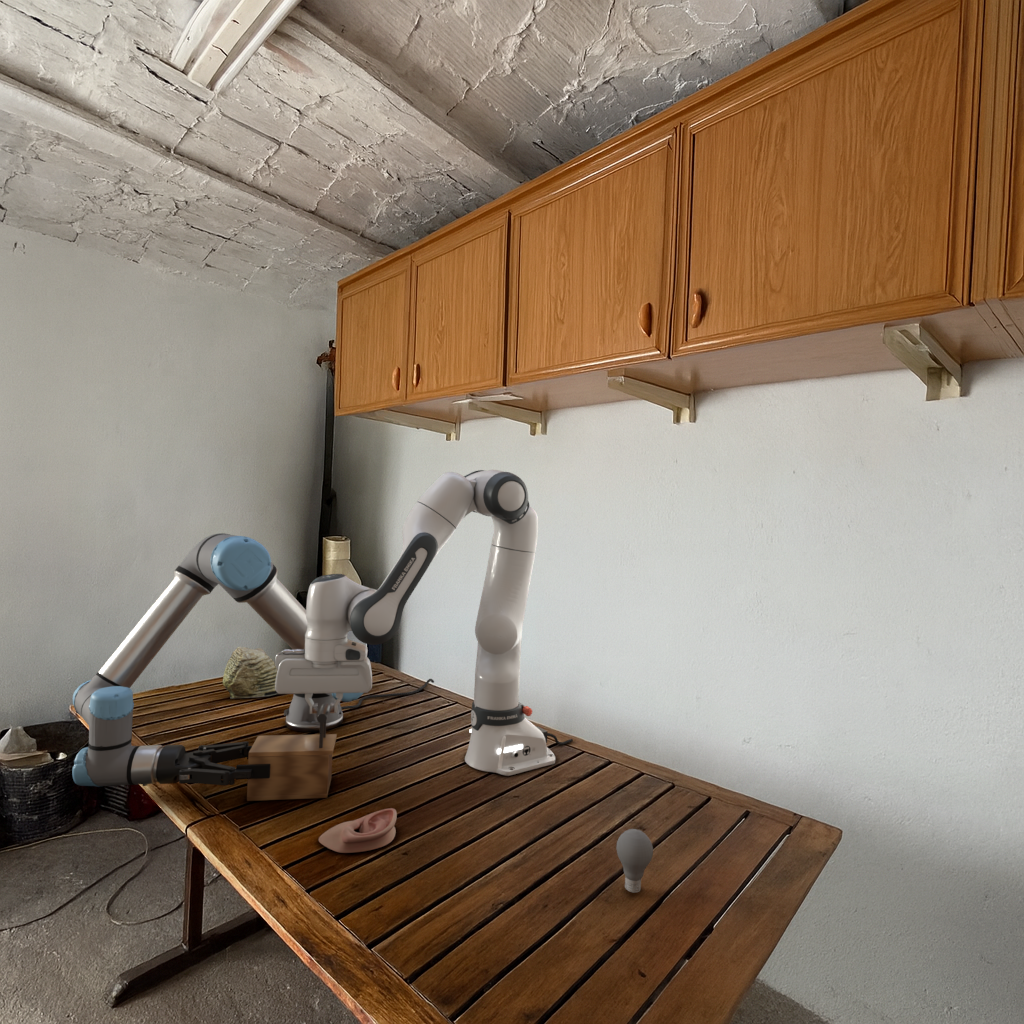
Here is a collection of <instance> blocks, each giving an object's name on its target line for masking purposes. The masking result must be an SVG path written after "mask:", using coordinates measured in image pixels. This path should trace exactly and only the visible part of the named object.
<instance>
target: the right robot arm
mask: <svg viewBox="0 0 1024 1024" xmlns="http://www.w3.org/2000/svg"><path fill="white" fill-rule="evenodd" d="M470 513H477V514H480V515H482V516H485V517H491V519H492V522H493V534H492V539H491V545H490V550H489V556H488V561H487V567H486V572H485V577H484V581H483V586H482V592H481V595H480V601H479V605H478V611H477V617H476V621H475V626H474V633H475V634H474V635H475V639H476V640H477V648H476V649H477V650H476V660H475V669H474V688H473V689H474V690H473V691H474V692H473V700H472V703H471V710H470V725H471V728H470V729H469V733H470V736H469V743H468V746H467V750H466V753H465V755H464V761H465V763H466V764H467V765H468V766H469V767H471V768H473V769H475V770H479V771H482V772H487V773H488V772H489V773H496V774H498V775H502V776H506V777H509V776H513V775H516V774H517V775H518V774H522V773H524V772H528V771H533V770H537V769H540V768H544V767H547V766H551V765H555V764H556V755H555V753H554V752H553V751H552V750H551V749H550V748H549V747H548V746H547V744H548V737H551V738H553V739H554V742H555V743H556V744H557V745H559V746H564V745H568V744H570V743H572V742H574V739H573V738H569V739H567V740H565V741H559V740H558V737H557V736H556V735H555V734H553V733H550V732H548V730H547V729H546V730H545V729H544V728H542V727H540V726H538V725H535V724H534V723H532V722H531V721H530V720H529V719H527V718H526V717H531V716H532V714H533V713H534V712H533V709H532V708H531V707H530V706H528V705H524V704H523V703H521V702H520V699H519V698H520V682H521V681H520V680H521V679H520V678H521V677H520V676H521V659H522V658H521V656H522V639H523V638H522V636H523V627H524V619H525V614H526V609H527V603H528V596H529V592H530V584H531V580H532V574H533V568H534V563H535V558H536V557H535V556H536V551H537V546H538V545H537V544H538V535H539V517H538V513H537V511H536V510H535V509H534V508H533V507H532V506H530V502H529V493H528V488H527V486H526V484H525V482H524V481H523V479H522V478H521V477H520V476H518V475H517V474H514V473H512V472H509V471H503V470H498V469H489V470H485V469H484V470H483V469H480V470H479V469H478V470H473V471H472V472H469V473H468V474H466V475H462V474H460V473H458V472H454V471H446V472H443V473H442V474H441V475H439V476H438V477H437V478H436V479H435V480H434V481H433V482H432V483H431V484H430V485H429V486H428V487H427V488H426V489H425V490H424V492H423V493H422V494H421V496H419V498H418V499H417V501H416V502H415V503H414V505H413V506H412V508H411V509H410V511H409V512H408V515H407V517H406V518H405V520H404V522H403V525H402V527H401V529H402V530H401V533H402V548H401V552H400V555H399V556H398V558H397V560H396V562H395V563H394V565H393V566H392V568H391V569H390V571H389V573H388V574H387V576H386V577H385V578H384V580H383V582H382V583H381V585H380V586H379V588H377V589H375V588H373V587H368V586H365V585H362V584H360V583H357V581H354V580H352V579H350V578H349V577H348V576H347V575H345V574H344V573H330V574H324V575H320V576H319V577H318V576H317V577H316V578H315V579H313V580H312V582H310V585H309V587H308V591H307V596H306V607H305V610H306V619H307V624H308V626H307V631H306V634H305V649H295V650H293V649H289V648H286V649H285V648H284V649H282V650H281V651H279V652H278V653H276V655H275V659H274V663H275V666H276V668H277V669H278V671H277V675H276V682H275V690H276V691H277V693H278V694H277V695H289V694H292V695H294V694H305V700H306V701H307V703H308V705H309V706H310V714H314V713H317V711H318V708H317V707H318V703H314V702H313V700H312V695H313V693H336V698H337V700H336V702H335V703H331V705H330V713H337V709H338V704H339V703H340V704H341V702H342V701H341V699H342V698H343V693H363V694H367V693H369V692H370V691H371V690H372V688H373V673H372V672H373V671H372V663H371V660H370V659H369V657H368V651H369V650H368V647H367V645H370V646H377V645H382V644H384V643H386V642H388V641H390V640H391V639H392V638H394V636H395V635H396V633H397V632H398V630H399V629H400V625H401V622H402V617H403V613H404V608H405V606H406V604H407V603H408V600H409V599H410V597H411V595H412V593H413V592H414V591H415V589H416V588H417V586H418V584H419V583H420V582H421V580H422V579H423V576H424V575H425V573H426V572H427V570H428V568H429V567H430V566H431V563H432V562H433V561H434V560H435V558H436V557H437V555H438V554H439V553H440V551H441V550H442V549H443V548H444V546H445V545H446V544H447V542H448V541H449V540H450V539H451V538H452V536H454V535H453V534H454V533H455V532H456V531H457V529H458V528H459V526H461V525H460V524H461V523H462V522H463V520H464V519H465V518H466V517H467V516H468V515H469V514H470ZM349 632H352V634H353V636H354V637H355V638H356V640H358V641H359V642H357V641H354V640H351V639H349V638H348V634H349ZM304 654H305V656H304Z"/></svg>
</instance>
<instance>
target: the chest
mask: <svg viewBox="0 0 1024 1024" xmlns="http://www.w3.org/2000/svg"><path fill="white" fill-rule="evenodd" d="M247 760H248V761H247V764H248V765H249V764H270V778H263V779H247V782H246V783H247V784H246V785H247V786H246V802H254V801H255V802H257V801H258V802H259V801H280V800H308V799H309V800H310V799H327V798H328V795H329V791H330V786H331V781H332V769H333V755H301V756H262V757H248V759H247Z"/></svg>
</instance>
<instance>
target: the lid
mask: <svg viewBox="0 0 1024 1024" xmlns="http://www.w3.org/2000/svg"><path fill="white" fill-rule="evenodd" d="M329 710H330V706H329V705H328V704H326V703H325V704H323V705H322V706H321V708H320V711H319V714H318V717H317V721H318V722H319V723H320V731H319V734H281V735H280V734H277V735H273V734H271V735H258V736H257V737H256V739H255V740H254V743H253V744H252V745H251V746H252V748H251V749H250V751H249V756H248V757H262V756H301V755H332V756H333V754H334V751H335V745H336V741H337V739H338V738H337V733H332V734H331V733H327V730H326V720H327V717H328V713H329Z"/></svg>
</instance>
